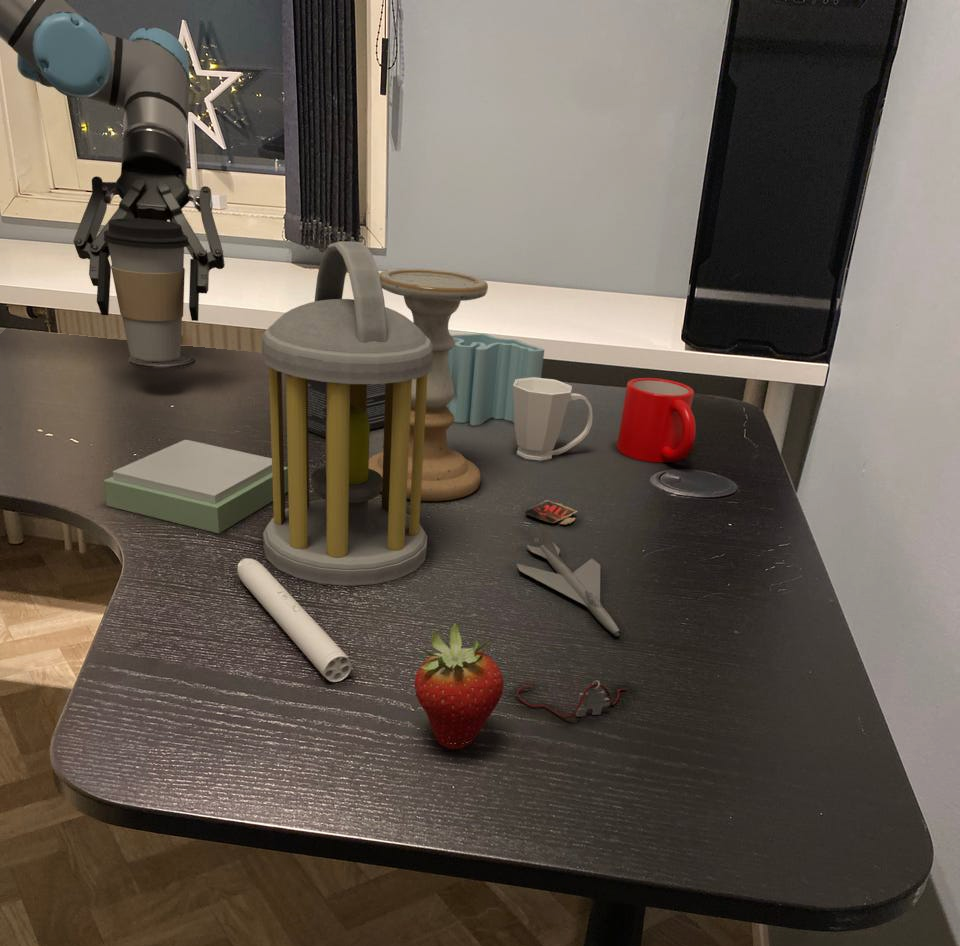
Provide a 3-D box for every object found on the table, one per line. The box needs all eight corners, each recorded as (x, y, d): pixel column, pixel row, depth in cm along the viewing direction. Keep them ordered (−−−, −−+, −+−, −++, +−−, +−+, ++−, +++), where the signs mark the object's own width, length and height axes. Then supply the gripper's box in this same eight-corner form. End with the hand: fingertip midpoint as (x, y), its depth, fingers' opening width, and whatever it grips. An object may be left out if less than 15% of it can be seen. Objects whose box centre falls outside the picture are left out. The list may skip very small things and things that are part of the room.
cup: (497, 444, 108) (504, 376, 104) (576, 444, 111) (585, 377, 107) (514, 464, 103) (522, 393, 99) (596, 464, 105) (607, 394, 101)
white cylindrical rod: (229, 575, 74) (227, 548, 73) (254, 570, 75) (253, 544, 74) (324, 686, 61) (323, 656, 60) (352, 678, 62) (352, 649, 61)
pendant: (535, 728, 59) (540, 694, 58) (513, 691, 63) (517, 658, 61) (645, 716, 61) (653, 683, 60) (618, 680, 65) (625, 648, 64)
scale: (102, 505, 84) (98, 471, 82) (183, 466, 94) (180, 435, 92) (219, 534, 80) (216, 499, 79) (289, 491, 90) (288, 459, 89)
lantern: (453, 573, 78) (477, 259, 65) (290, 596, 72) (282, 256, 59) (391, 509, 88) (402, 230, 76) (245, 525, 82) (230, 224, 70)
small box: (361, 411, 115) (362, 325, 110) (396, 425, 112) (400, 337, 106) (294, 425, 108) (292, 334, 103) (330, 440, 104) (330, 347, 99)
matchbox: (521, 516, 89) (522, 512, 89) (541, 501, 93) (541, 496, 93) (566, 528, 88) (566, 524, 88) (583, 511, 92) (584, 507, 92)
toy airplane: (572, 645, 69) (576, 619, 68) (485, 532, 86) (487, 509, 85) (662, 636, 71) (667, 611, 70) (560, 528, 88) (563, 506, 87)
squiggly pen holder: (503, 403, 124) (509, 332, 119) (538, 425, 116) (547, 350, 112) (378, 409, 116) (380, 334, 112) (407, 434, 109) (411, 354, 104)
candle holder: (394, 452, 103) (402, 261, 93) (496, 474, 99) (516, 279, 89) (342, 486, 93) (344, 276, 82) (453, 512, 89) (470, 296, 79)
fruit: (413, 717, 59) (419, 609, 55) (495, 722, 59) (507, 615, 55) (409, 766, 55) (415, 653, 51) (498, 771, 55) (511, 659, 51)
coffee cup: (119, 344, 115) (106, 214, 107) (197, 348, 117) (190, 221, 110) (111, 364, 107) (96, 225, 100) (194, 367, 109) (186, 231, 102)
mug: (658, 476, 103) (672, 408, 99) (604, 442, 113) (615, 378, 109) (714, 472, 106) (730, 405, 102) (657, 439, 116) (669, 376, 112)
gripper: (249, 181, 118) (247, 335, 112) (66, 164, 113) (55, 323, 108) (246, 136, 111) (243, 298, 105) (50, 117, 106) (38, 284, 101)
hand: (148, 311), depth 107 cm, fingers closed on coffee cup, 9 cm apart
